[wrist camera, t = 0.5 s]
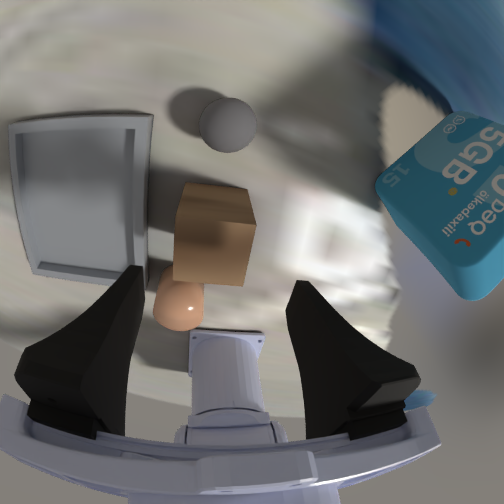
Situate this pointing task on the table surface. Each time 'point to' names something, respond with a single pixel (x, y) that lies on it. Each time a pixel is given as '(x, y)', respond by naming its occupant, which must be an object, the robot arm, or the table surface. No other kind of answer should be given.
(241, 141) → the rubber ball
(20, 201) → the tray
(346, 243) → the table surface
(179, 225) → the walnut block
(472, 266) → the data package
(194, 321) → the peach rounded tapered piece
